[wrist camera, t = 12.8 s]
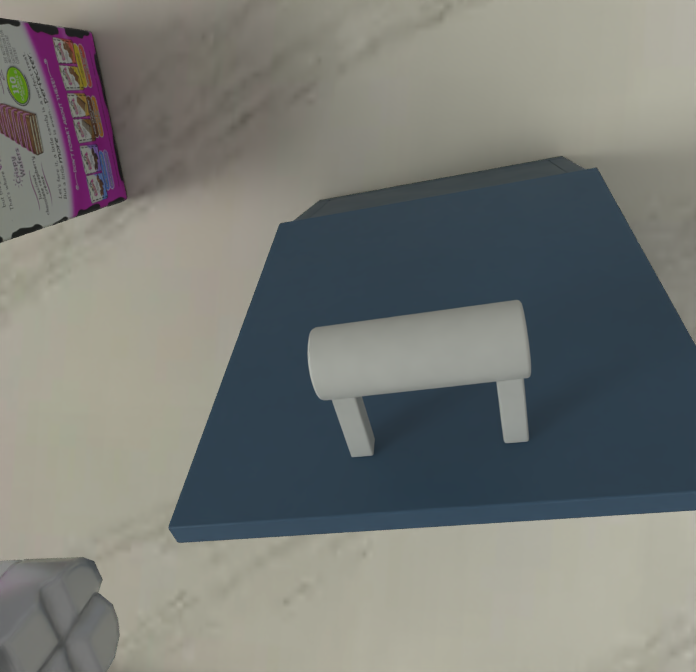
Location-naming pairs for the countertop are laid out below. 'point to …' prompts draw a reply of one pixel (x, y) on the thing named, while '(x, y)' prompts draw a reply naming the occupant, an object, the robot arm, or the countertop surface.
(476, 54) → the countertop surface
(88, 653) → the robot arm
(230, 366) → the lid
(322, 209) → the dark blue open box
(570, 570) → the countertop surface
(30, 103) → the candy bar box
